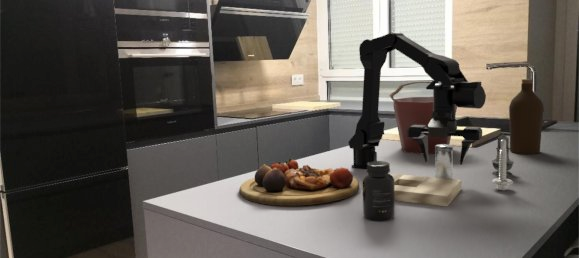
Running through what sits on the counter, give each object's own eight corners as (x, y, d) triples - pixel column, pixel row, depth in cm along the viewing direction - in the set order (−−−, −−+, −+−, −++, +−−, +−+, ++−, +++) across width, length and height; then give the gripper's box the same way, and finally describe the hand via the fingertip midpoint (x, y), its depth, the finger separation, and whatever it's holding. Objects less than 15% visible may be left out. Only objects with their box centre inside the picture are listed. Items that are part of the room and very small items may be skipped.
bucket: (380, 150, 180) (379, 83, 177) (408, 141, 197) (408, 79, 193) (444, 157, 165) (445, 83, 161) (469, 147, 181) (470, 79, 178)
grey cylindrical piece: (433, 183, 133) (433, 146, 132) (437, 179, 137) (437, 144, 136) (450, 184, 131) (451, 147, 129) (454, 180, 135) (454, 144, 133)
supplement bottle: (359, 212, 110) (359, 160, 108) (389, 210, 111) (389, 159, 109) (367, 222, 103) (366, 167, 102) (398, 220, 104) (398, 165, 102)
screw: (516, 190, 123) (502, 192, 122) (501, 185, 128) (487, 188, 126) (518, 139, 122) (503, 141, 120) (502, 136, 126) (488, 138, 124)
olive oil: (521, 155, 163) (524, 80, 160) (501, 150, 173) (503, 79, 170) (549, 153, 165) (552, 79, 162) (527, 148, 176) (529, 78, 172)
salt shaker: (515, 176, 137) (517, 134, 135) (493, 176, 138) (494, 134, 136) (510, 171, 142) (511, 130, 141) (489, 171, 144) (490, 131, 142)
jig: (372, 197, 121) (372, 188, 121) (393, 182, 135) (393, 173, 135) (447, 206, 112) (447, 196, 112) (461, 189, 126) (461, 179, 126)
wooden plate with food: (383, 188, 131) (383, 157, 130) (300, 216, 109) (298, 180, 108) (298, 173, 154) (297, 147, 153) (215, 194, 132) (214, 164, 131)
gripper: (401, 109, 129) (401, 167, 131) (475, 110, 119) (474, 173, 122) (413, 104, 138) (412, 158, 141) (483, 106, 129) (481, 163, 131)
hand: (443, 163), depth 133 cm, fingers open, 9 cm apart
